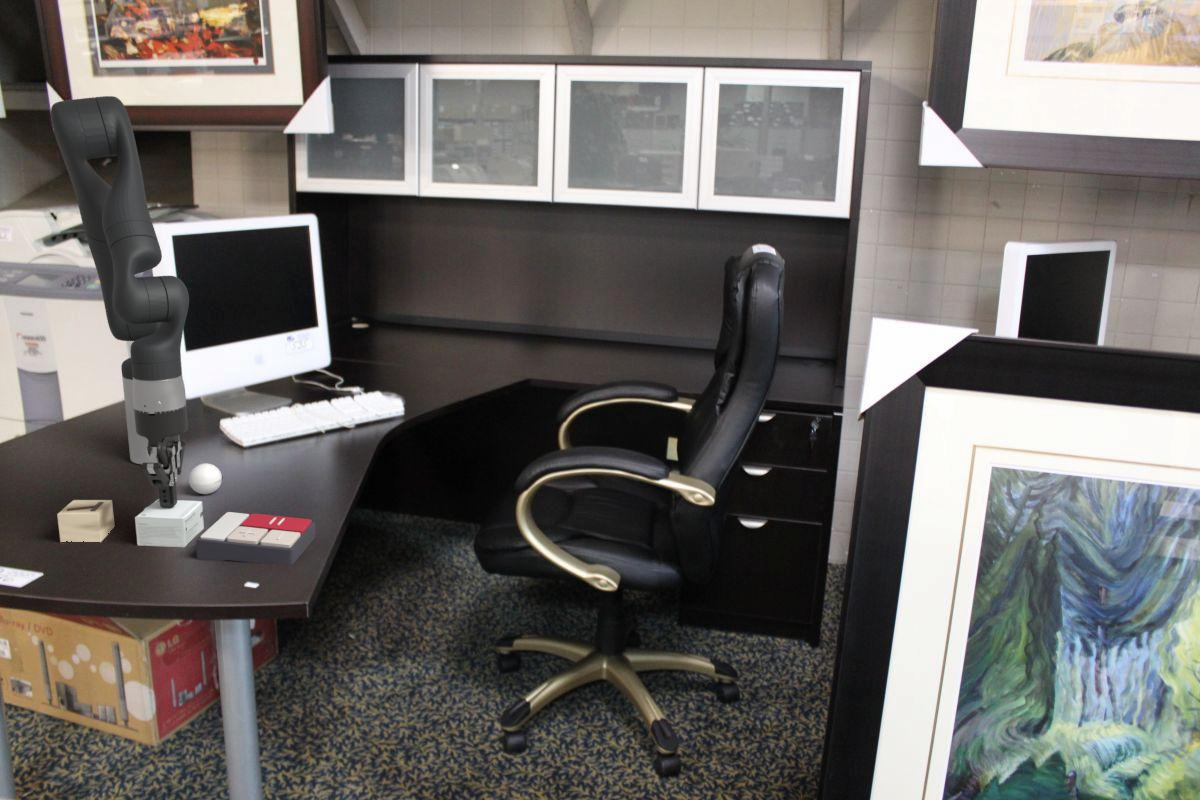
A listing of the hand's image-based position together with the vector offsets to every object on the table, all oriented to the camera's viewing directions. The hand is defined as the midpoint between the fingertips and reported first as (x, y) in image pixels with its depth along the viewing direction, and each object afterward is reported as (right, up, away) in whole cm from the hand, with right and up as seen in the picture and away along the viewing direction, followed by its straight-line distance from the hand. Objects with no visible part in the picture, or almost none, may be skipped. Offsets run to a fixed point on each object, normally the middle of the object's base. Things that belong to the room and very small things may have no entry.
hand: (168, 505), depth 153 cm
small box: (0, -6, +1) cm, 6 cm away
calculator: (+15, -7, -1) cm, 17 cm away
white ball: (-2, 0, +21) cm, 21 cm away
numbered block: (-13, -5, 0) cm, 14 cm away
